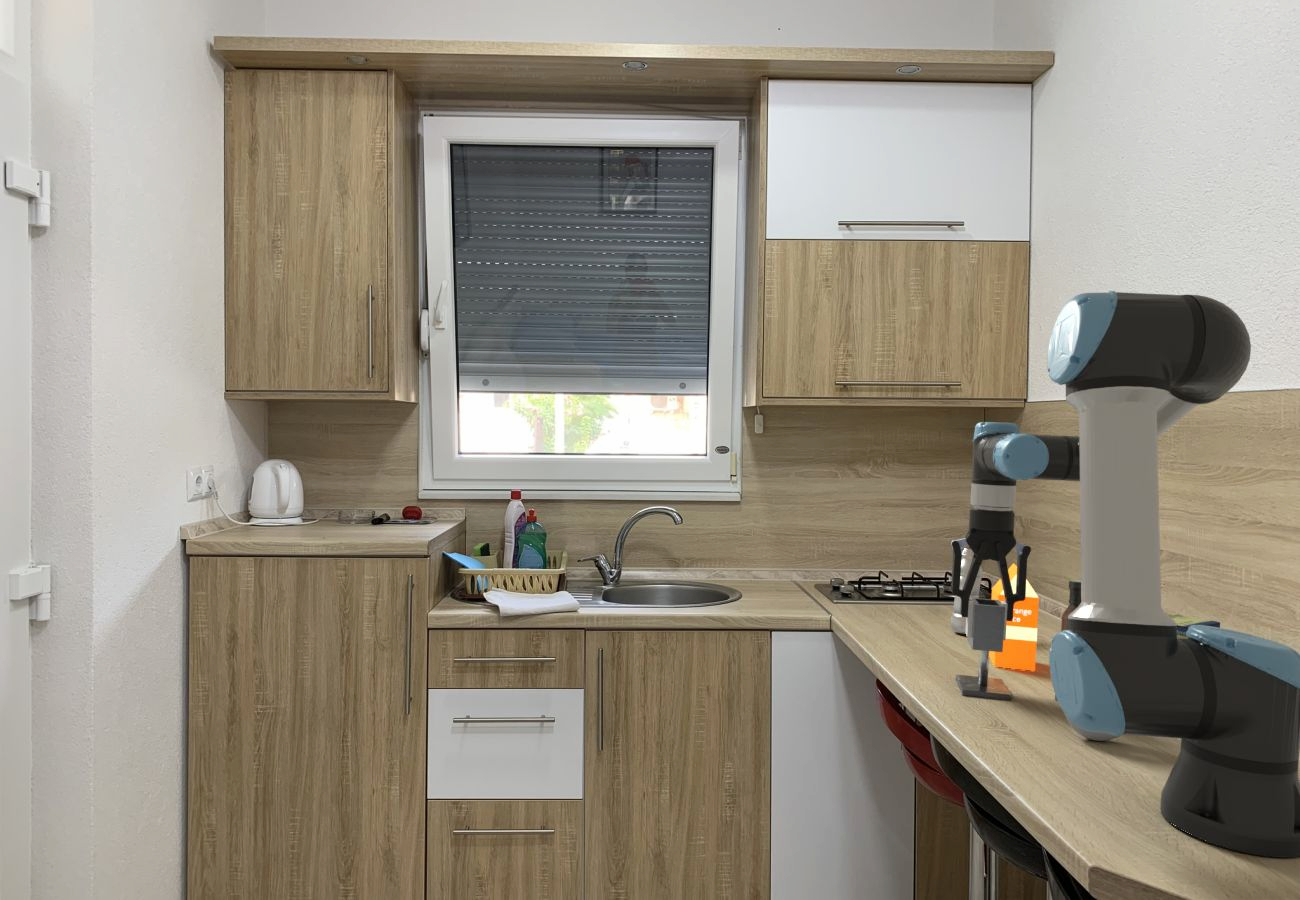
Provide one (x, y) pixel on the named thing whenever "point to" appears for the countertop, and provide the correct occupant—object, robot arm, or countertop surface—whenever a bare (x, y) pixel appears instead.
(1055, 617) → the countertop surface
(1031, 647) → the orange juice
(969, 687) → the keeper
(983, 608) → the grey rectangular holder
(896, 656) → the countertop surface
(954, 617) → the plastic bottle
